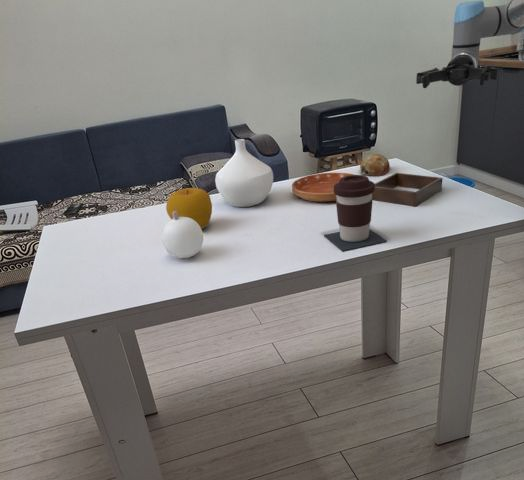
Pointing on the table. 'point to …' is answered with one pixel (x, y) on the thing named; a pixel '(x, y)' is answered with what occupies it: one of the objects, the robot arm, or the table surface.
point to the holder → (410, 198)
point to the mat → (346, 246)
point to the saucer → (318, 186)
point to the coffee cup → (354, 207)
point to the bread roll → (374, 165)
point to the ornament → (182, 236)
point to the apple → (191, 205)
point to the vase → (244, 178)
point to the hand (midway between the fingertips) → (452, 80)
